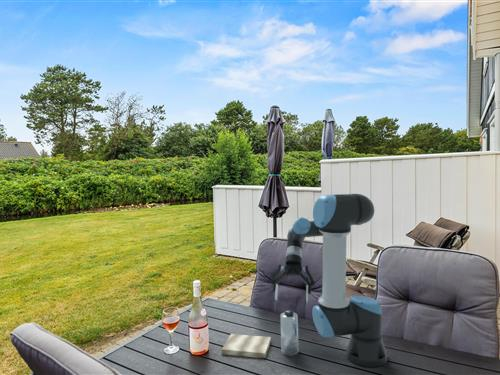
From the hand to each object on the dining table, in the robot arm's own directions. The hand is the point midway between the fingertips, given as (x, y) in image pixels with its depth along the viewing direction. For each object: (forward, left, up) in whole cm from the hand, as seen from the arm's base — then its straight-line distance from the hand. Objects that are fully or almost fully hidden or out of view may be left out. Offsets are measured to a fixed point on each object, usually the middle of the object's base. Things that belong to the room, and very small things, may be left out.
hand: (291, 299), depth 150 cm
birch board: (+18, +11, -17) cm, 27 cm away
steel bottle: (0, +11, -18) cm, 21 cm away
